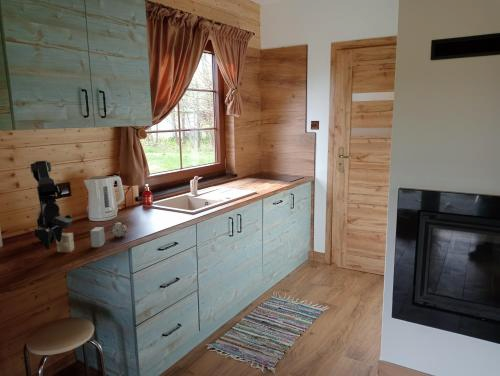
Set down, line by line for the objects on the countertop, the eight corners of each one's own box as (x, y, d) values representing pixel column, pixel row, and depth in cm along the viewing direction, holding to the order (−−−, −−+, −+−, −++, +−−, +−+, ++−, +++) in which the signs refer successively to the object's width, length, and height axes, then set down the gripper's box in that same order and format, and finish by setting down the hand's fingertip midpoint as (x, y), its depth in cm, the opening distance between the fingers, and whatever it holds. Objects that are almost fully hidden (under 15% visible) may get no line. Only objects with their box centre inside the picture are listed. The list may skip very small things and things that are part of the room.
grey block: (100, 247, 194) (98, 231, 193) (91, 247, 195) (90, 231, 193) (105, 242, 200) (103, 227, 199) (97, 242, 201) (95, 227, 199)
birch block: (57, 252, 188) (55, 235, 187) (62, 249, 192) (60, 232, 191) (70, 252, 188) (68, 235, 187) (74, 249, 192) (72, 232, 190)
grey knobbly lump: (119, 242, 211) (119, 224, 216) (131, 238, 208) (132, 220, 212) (105, 239, 204) (106, 220, 208) (118, 234, 201) (119, 215, 205)
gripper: (57, 217, 167) (61, 253, 170) (78, 205, 185) (81, 238, 188) (30, 217, 167) (35, 253, 171) (54, 205, 186) (57, 238, 189)
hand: (53, 245), depth 180 cm, fingers open, 9 cm apart
